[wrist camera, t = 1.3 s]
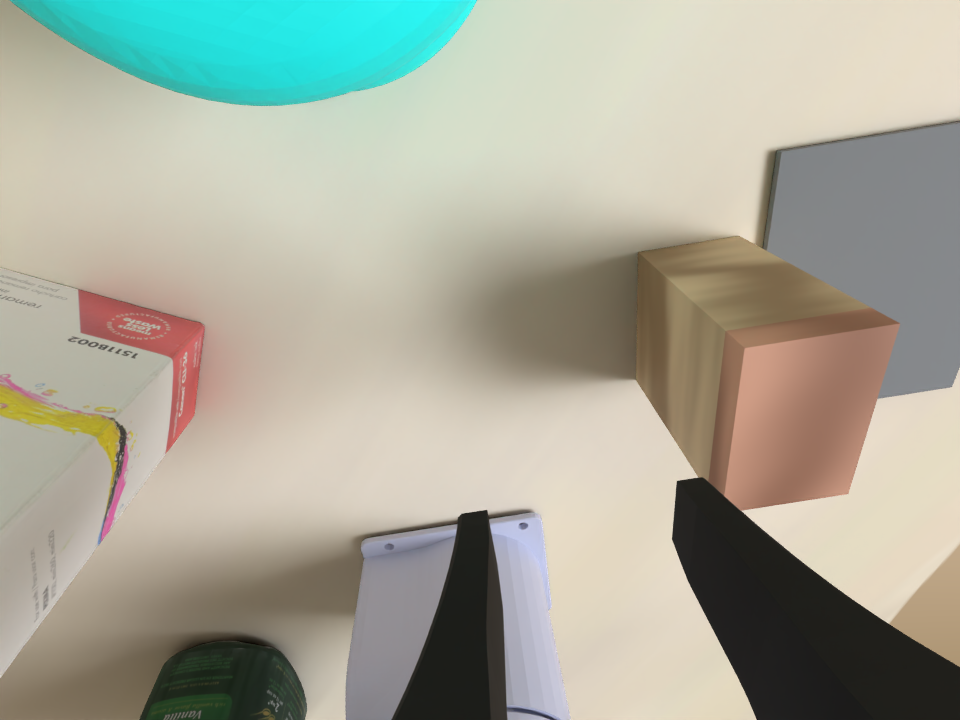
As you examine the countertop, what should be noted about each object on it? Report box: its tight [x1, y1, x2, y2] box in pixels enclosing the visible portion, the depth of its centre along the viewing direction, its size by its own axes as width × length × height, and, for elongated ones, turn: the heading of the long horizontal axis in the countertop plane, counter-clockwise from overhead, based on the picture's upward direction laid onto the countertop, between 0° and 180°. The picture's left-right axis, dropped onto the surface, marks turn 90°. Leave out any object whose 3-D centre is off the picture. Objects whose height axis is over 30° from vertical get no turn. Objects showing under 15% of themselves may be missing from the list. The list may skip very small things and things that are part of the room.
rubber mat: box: [763, 121, 960, 399], centre depth 21 cm, size 10×12×1 cm
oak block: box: [636, 236, 900, 511], centre depth 18 cm, size 4×6×8 cm, turn 8°
